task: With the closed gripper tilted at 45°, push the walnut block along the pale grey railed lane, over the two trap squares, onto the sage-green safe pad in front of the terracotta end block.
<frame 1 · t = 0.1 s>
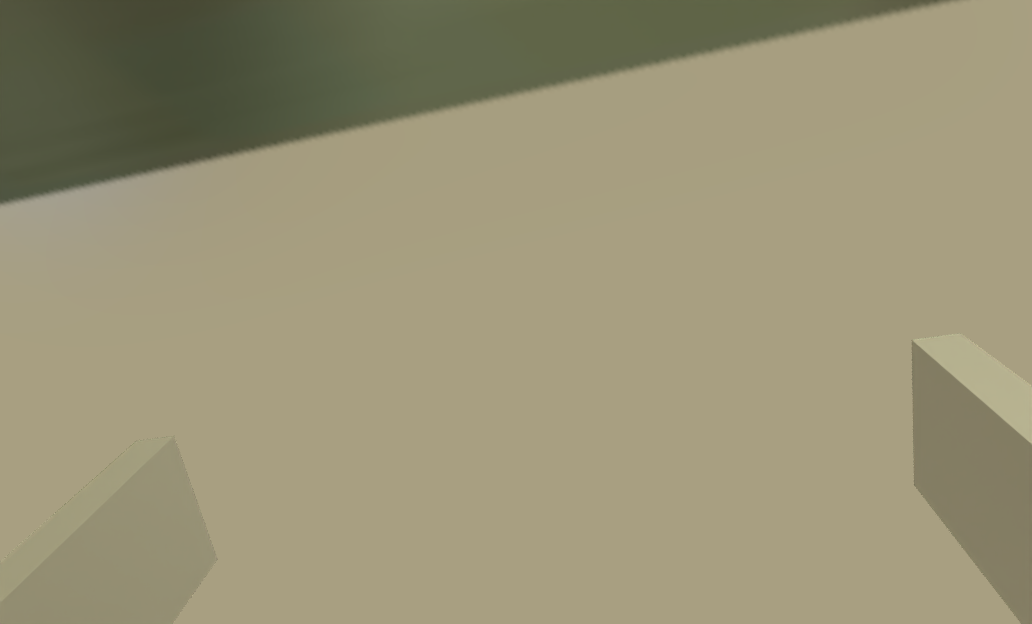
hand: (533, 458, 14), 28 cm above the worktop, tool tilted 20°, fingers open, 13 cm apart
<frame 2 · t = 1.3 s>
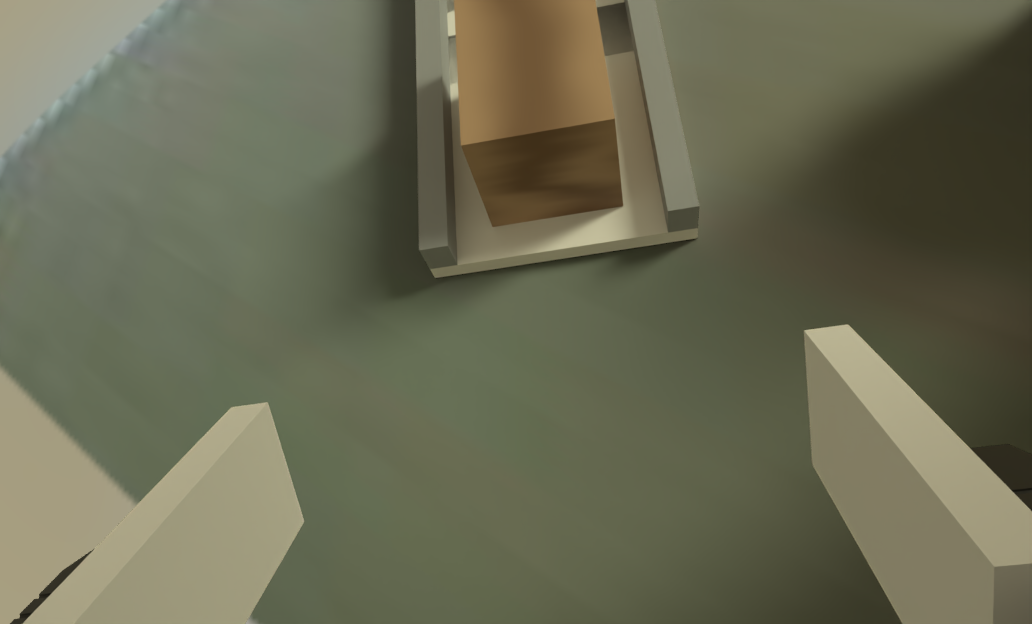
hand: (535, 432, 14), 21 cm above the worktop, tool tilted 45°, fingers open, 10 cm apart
walnut block: (548, 141, 43), point 1 cm above the worktop, touching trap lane
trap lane: (535, 14, 48), on the worktop
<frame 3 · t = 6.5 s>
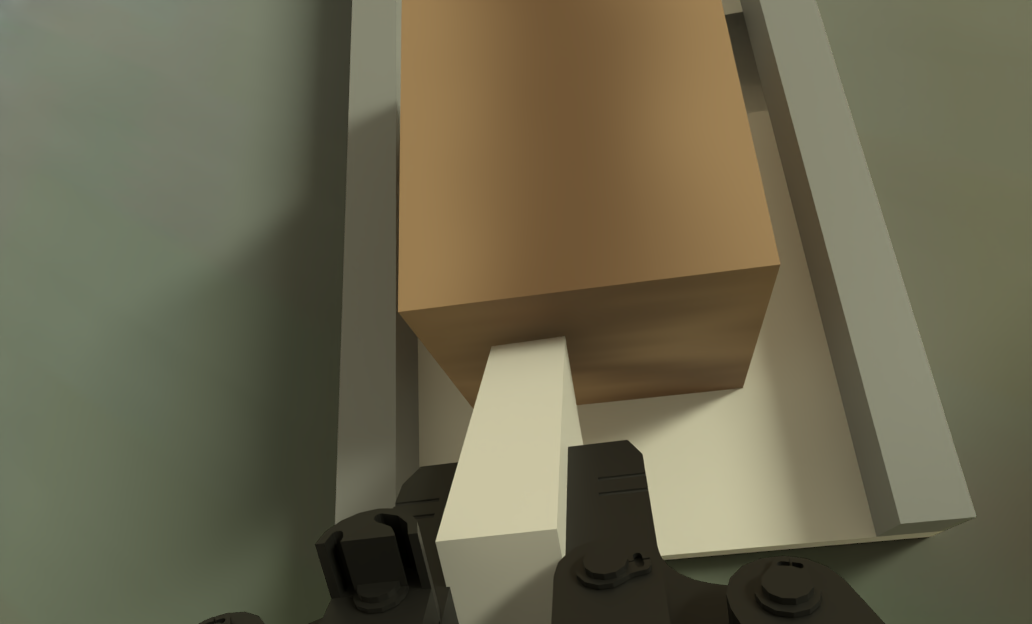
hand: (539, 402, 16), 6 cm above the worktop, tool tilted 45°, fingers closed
walnut block: (589, 238, 22), point 1 cm above the worktop, touching gripper, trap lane
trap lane: (572, 29, 27), on the worktop
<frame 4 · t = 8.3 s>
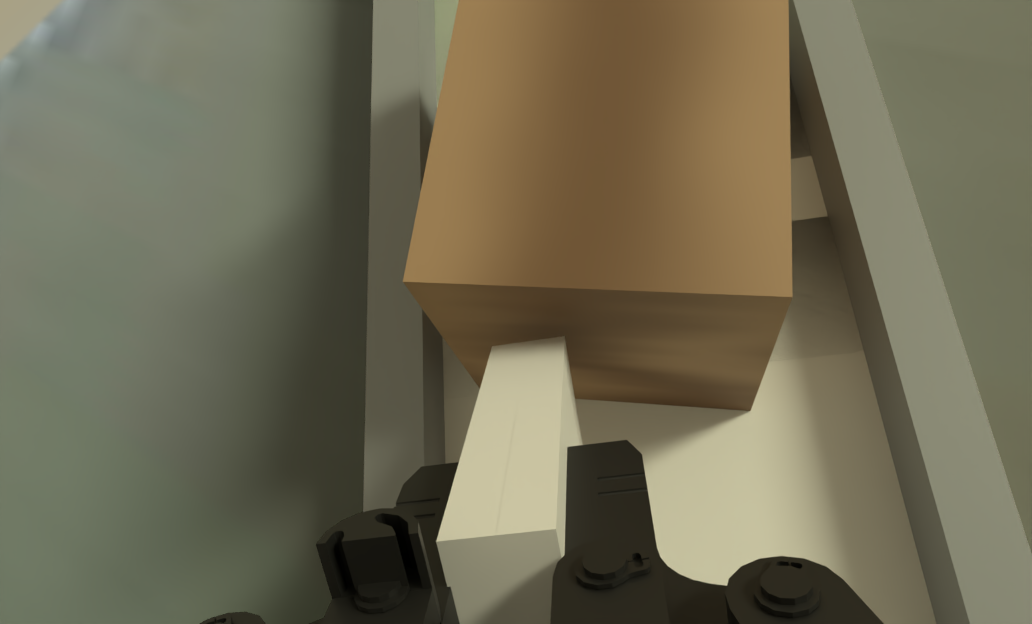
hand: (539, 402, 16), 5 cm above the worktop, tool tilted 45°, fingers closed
walnut block: (624, 233, 22), point 1 cm above the worktop
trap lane: (623, 216, 23), on the worktop
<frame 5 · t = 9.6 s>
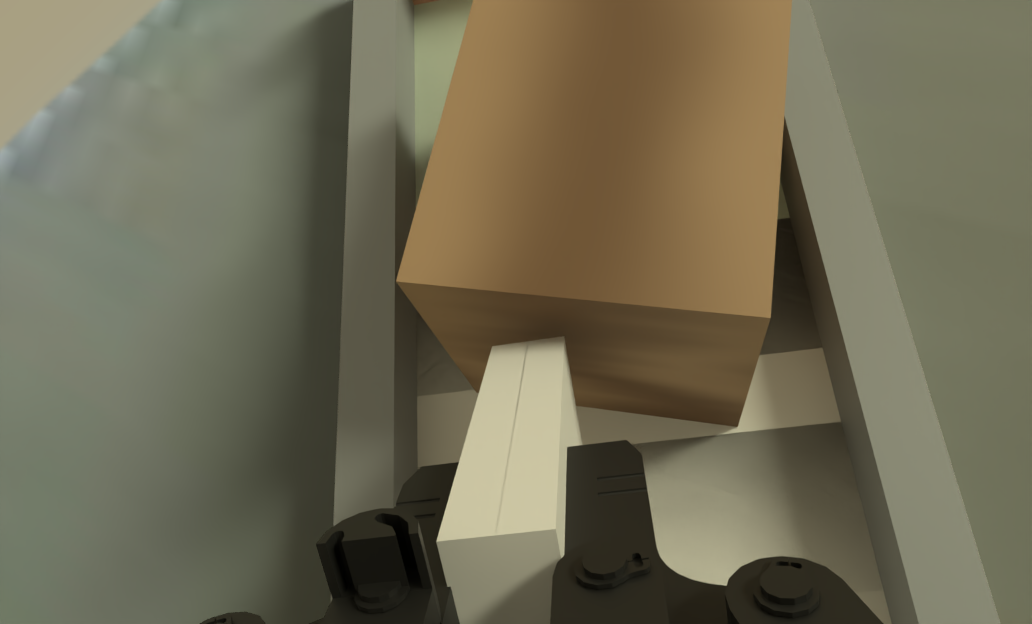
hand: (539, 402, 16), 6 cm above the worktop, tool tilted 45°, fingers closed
walnut block: (626, 244, 22), point 1 cm above the worktop, touching gripper, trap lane
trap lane: (616, 401, 21), on the worktop
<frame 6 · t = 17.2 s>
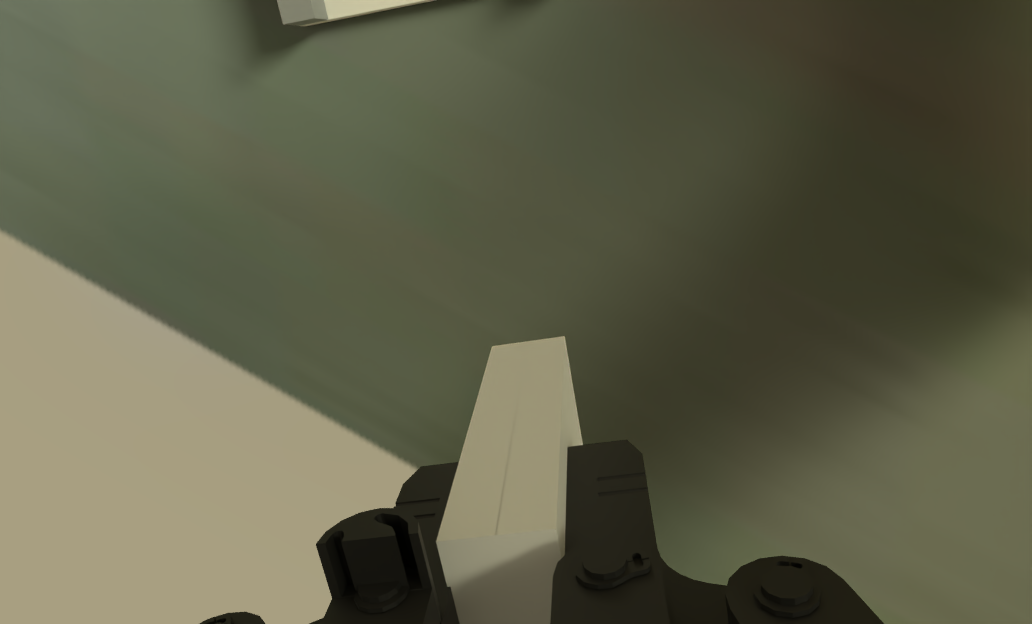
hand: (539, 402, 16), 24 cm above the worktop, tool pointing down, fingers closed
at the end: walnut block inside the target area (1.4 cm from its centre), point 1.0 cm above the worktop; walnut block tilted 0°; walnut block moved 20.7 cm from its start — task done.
